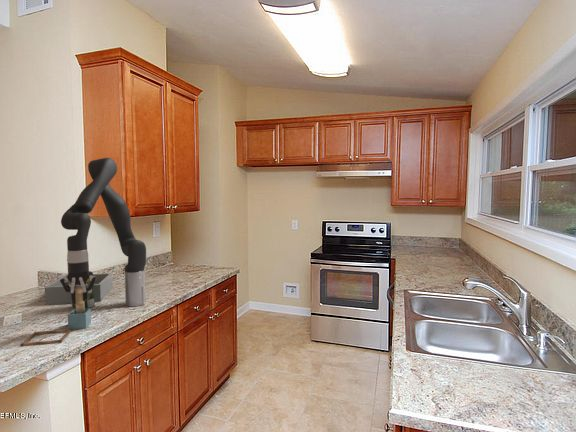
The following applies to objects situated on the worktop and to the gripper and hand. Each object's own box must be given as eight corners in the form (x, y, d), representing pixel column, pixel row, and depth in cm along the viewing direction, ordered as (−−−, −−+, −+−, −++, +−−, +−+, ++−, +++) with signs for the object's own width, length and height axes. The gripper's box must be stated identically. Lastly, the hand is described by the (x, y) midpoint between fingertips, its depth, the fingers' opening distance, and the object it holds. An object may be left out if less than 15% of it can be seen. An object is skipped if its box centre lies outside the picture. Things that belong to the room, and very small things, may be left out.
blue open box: (91, 324, 148) (90, 308, 148) (86, 330, 142) (85, 313, 141) (74, 325, 147) (73, 309, 146) (68, 331, 140) (67, 315, 140)
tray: (71, 332, 139) (71, 329, 139) (61, 344, 128) (61, 340, 128) (35, 335, 136) (34, 332, 136) (21, 348, 125) (20, 343, 125)
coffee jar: (69, 308, 168) (67, 271, 167) (84, 303, 175) (83, 268, 174) (82, 311, 164) (81, 273, 163) (97, 306, 171) (96, 269, 170)
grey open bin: (112, 288, 204) (112, 273, 203) (100, 301, 179) (100, 284, 178) (64, 290, 197) (64, 275, 197) (45, 304, 173) (44, 287, 172)
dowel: (86, 317, 146) (84, 285, 145) (83, 319, 143) (82, 287, 142) (77, 317, 145) (76, 285, 144) (75, 320, 142) (73, 287, 141)
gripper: (99, 257, 148) (100, 296, 149) (62, 259, 144) (64, 299, 145) (94, 261, 140) (95, 302, 142) (55, 263, 137) (57, 305, 138)
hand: (79, 300), depth 144 cm, fingers closed on dowel, 3 cm apart
